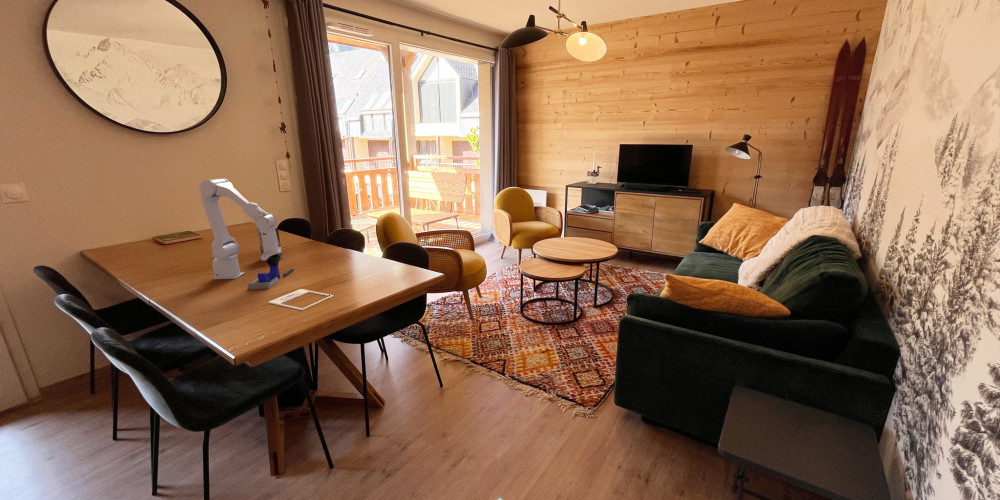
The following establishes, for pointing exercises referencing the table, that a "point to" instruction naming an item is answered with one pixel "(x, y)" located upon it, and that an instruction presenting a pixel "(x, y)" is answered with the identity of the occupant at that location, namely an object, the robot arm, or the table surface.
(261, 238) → the coffee box
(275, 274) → the cable clip
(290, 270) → the guide channel
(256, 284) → the bracket
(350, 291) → the table surface
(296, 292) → the photo frame
